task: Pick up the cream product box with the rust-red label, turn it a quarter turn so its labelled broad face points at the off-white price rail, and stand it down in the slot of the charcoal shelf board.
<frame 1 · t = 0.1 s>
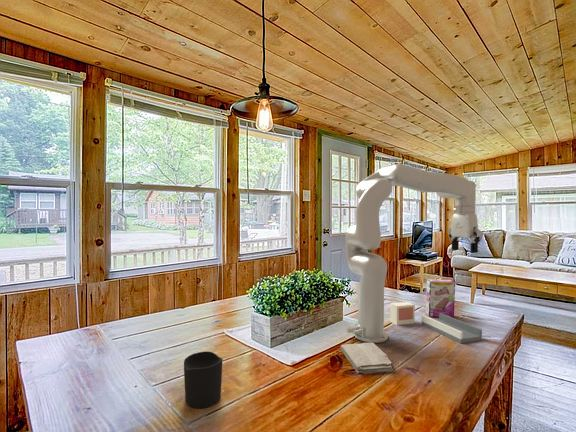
hand: (464, 251, 137), 31 cm above the table, tool pointing down, fingers open, 9 cm apart
product box: (402, 322, 140), on the table
washcloth: (365, 361, 105), on the table
pen holder: (203, 399, 82), on the table
candy bar box: (439, 316, 149), on the table
shelf: (449, 332, 129), on the table
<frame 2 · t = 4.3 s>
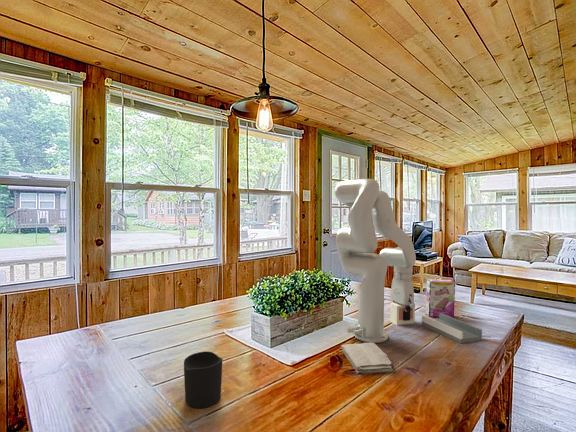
hand: (402, 317, 140), 2 cm above the table, tool pointing down, fingers closed on product box, 4 cm apart
product box: (402, 322, 140), on the table, touching gripper
everything else where it was.
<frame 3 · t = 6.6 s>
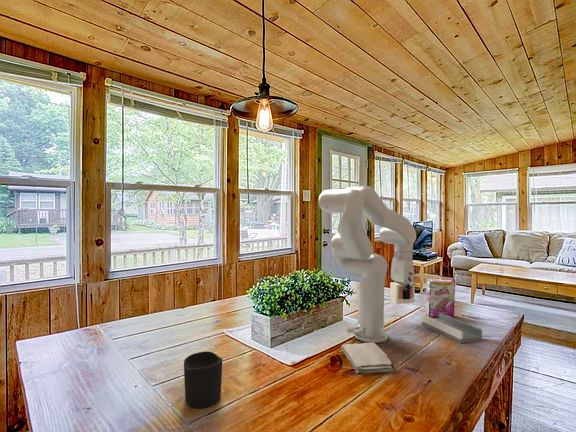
hand: (402, 297, 139), 11 cm above the table, tool pointing down, fingers closed on product box, 4 cm apart
product box: (401, 301, 139), point 9 cm above the table, touching gripper
everything else where it was.
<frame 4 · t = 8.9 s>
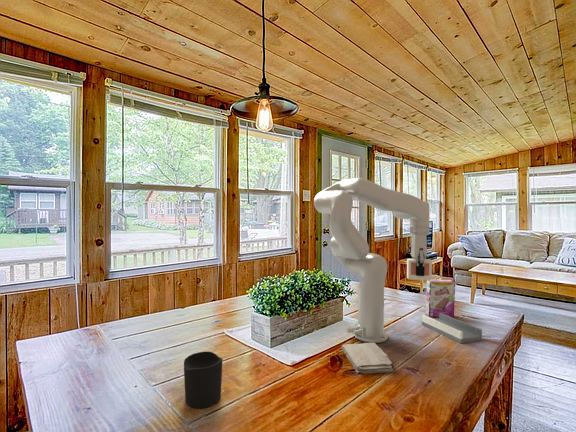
hand: (419, 274, 136), 22 cm above the table, tool pointing down, fingers closed on product box, 4 cm apart
product box: (419, 278, 136), point 20 cm above the table, touching gripper
everything else where it was.
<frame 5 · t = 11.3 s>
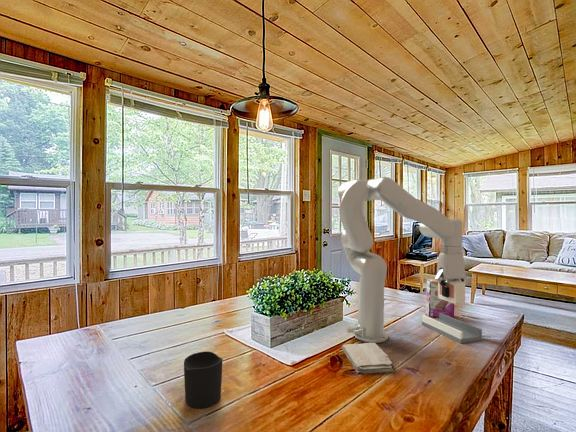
hand: (451, 295, 129), 15 cm above the table, tool pointing down, fingers closed on product box, 4 cm apart
product box: (451, 300, 129), point 13 cm above the table, touching gripper
everything else where it was.
when the fingers open (5 cm above the table, at t = 13.3 s): product box drops 2 cm, resting on shelf.
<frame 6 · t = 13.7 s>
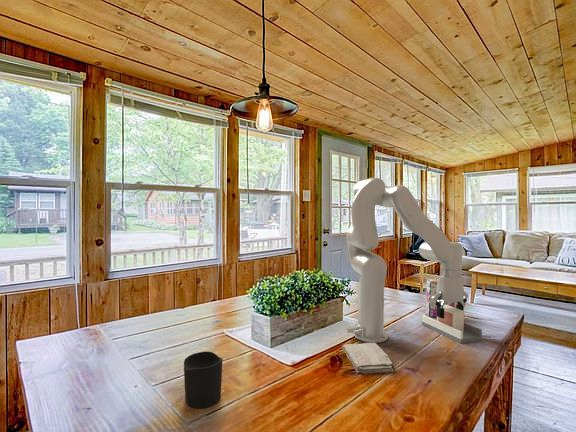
hand: (450, 316, 129), 6 cm above the table, tool pointing down, fingers open, 9 cm apart
product box: (449, 328, 129), point 1 cm above the table, touching shelf
everything else where it was.
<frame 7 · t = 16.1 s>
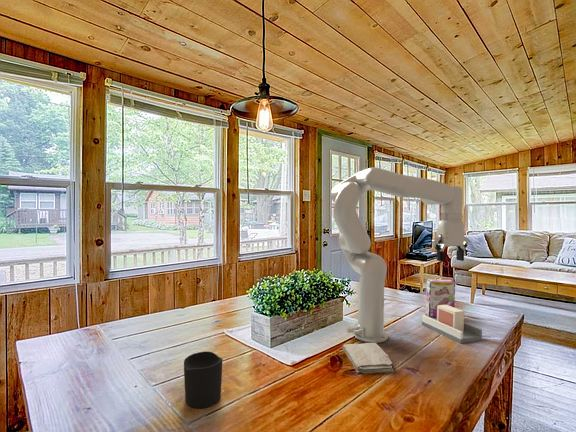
hand: (450, 260, 129), 28 cm above the table, tool pointing down, fingers open, 9 cm apart
nothing on the table moved.
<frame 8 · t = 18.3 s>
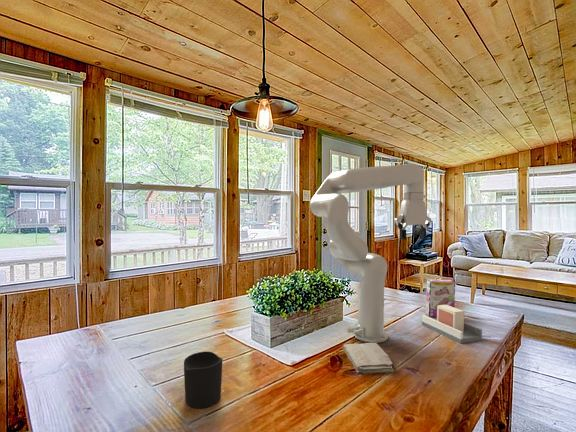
hand: (412, 239, 134), 36 cm above the table, tool pointing down, fingers open, 9 cm apart
nothing on the table moved.
at the end: product box inside the target area (0.1 cm from its centre), point 1.5 cm above the table; product box tilted 0°; the gripper is holding nothing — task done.
